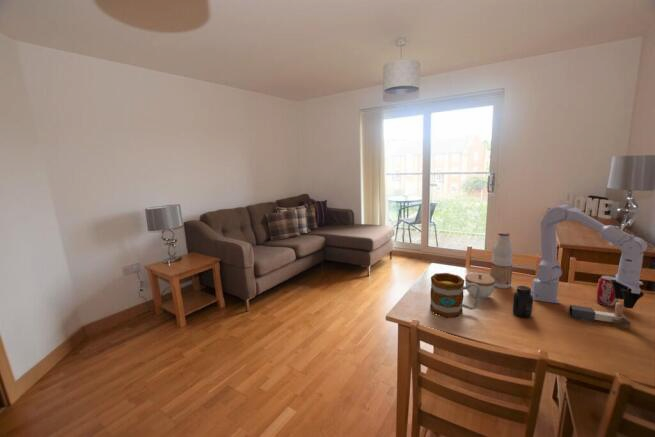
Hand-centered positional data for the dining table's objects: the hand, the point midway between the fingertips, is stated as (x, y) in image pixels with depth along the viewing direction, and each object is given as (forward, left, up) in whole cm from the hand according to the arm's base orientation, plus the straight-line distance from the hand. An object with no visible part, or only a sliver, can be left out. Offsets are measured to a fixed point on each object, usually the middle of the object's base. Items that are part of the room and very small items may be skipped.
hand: (623, 303), depth 110 cm
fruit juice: (-39, +23, -9) cm, 46 cm away
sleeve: (-12, 0, -9) cm, 15 cm away
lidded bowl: (-49, +6, -9) cm, 50 cm away
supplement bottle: (-33, -6, -9) cm, 34 cm away
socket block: (0, 0, -9) cm, 9 cm away
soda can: (+1, +18, -9) cm, 20 cm away
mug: (-59, -14, -9) cm, 61 cm away
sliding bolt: (-5, 0, -8) cm, 9 cm away
